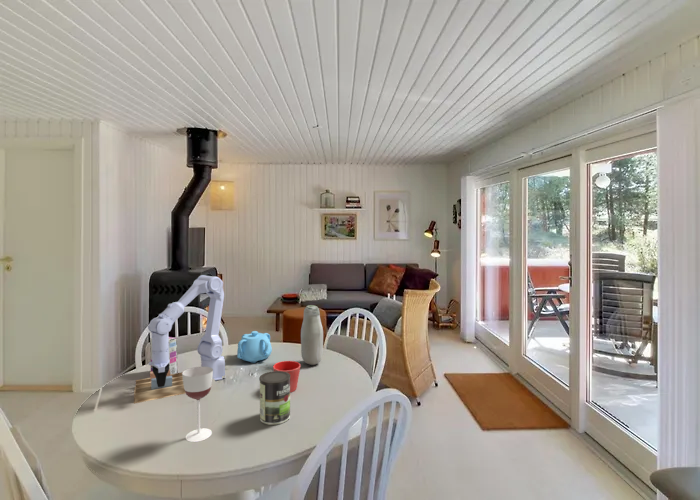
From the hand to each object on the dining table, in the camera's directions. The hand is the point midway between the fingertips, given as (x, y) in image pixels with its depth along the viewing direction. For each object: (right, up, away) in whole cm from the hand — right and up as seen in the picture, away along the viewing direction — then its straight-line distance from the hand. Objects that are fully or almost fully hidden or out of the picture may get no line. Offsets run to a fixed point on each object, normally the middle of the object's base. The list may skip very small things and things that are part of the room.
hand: (161, 384), depth 138 cm
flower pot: (+46, -5, +8) cm, 47 cm away
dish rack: (-2, -5, +4) cm, 6 cm away
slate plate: (0, -4, 0) cm, 4 cm away
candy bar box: (-10, -4, +22) cm, 24 cm away
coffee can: (+46, -6, -14) cm, 49 cm away
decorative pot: (+25, -3, +42) cm, 49 cm away
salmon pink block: (-4, -3, +8) cm, 10 cm away
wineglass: (+25, -6, -25) cm, 36 cm away
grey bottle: (+54, -3, +36) cm, 64 cm away
